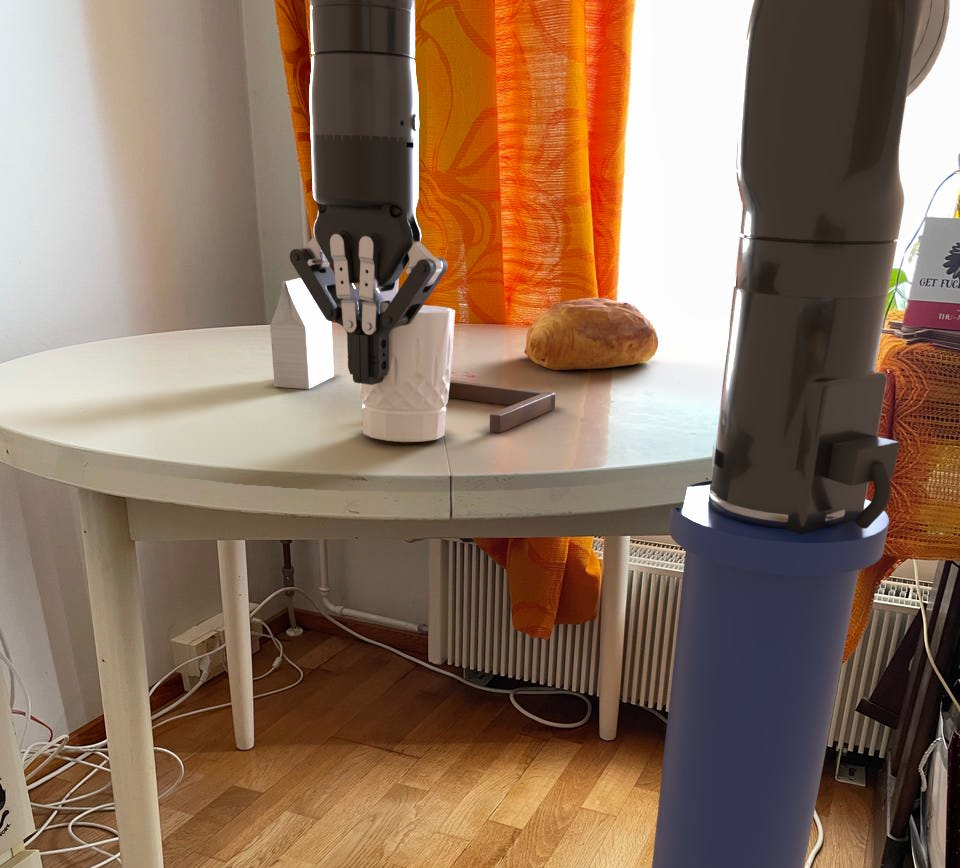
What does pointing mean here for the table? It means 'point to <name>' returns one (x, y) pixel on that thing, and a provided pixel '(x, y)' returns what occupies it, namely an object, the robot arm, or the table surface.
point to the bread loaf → (590, 335)
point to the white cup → (413, 381)
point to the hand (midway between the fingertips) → (369, 382)
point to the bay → (505, 402)
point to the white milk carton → (300, 339)
